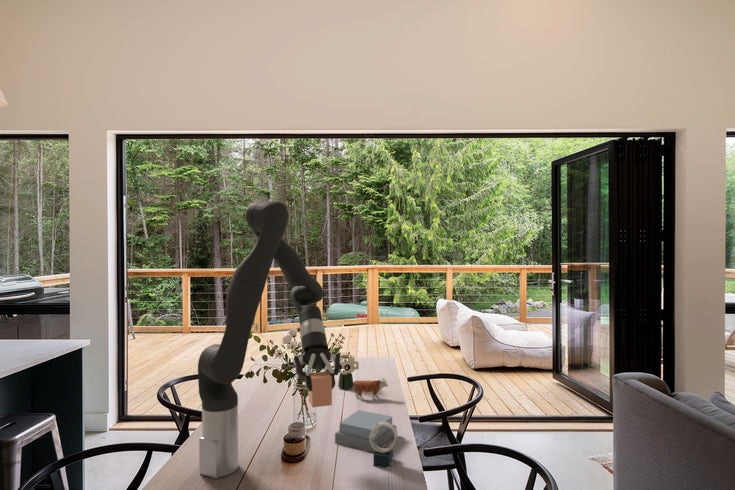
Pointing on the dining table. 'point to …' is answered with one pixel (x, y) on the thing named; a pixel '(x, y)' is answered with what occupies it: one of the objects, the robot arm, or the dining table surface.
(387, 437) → the two-tier stepped box
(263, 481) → the dining table surface
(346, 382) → the character mug
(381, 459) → the grey ring on block
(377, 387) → the bull figurine
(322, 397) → the terracotta brick
